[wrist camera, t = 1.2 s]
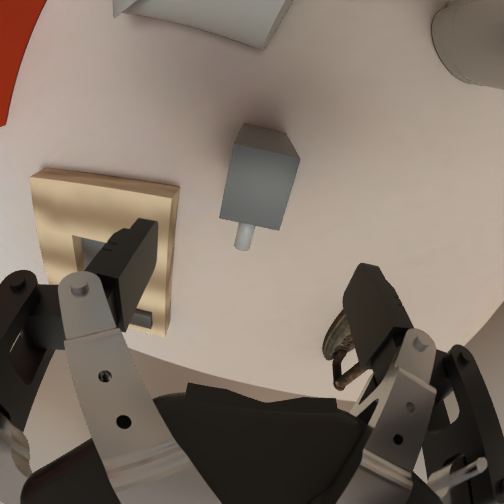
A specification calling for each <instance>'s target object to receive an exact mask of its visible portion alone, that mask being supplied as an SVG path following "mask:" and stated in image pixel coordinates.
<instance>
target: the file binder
mask: <svg viewBox="0 0 504 504" xmlns="http://www.w3.org/2000/svg"><path fill="white" fill-rule="evenodd" d="M45 2H46V0H0V127H1V126H4V125H5V124H6V120H7V115H8V110H9V105H10V101H11V96H12V92H13V88H14V84H15V81H16V77H17V73H18V70H19V67H20V64H21V60H22V57H23V55H24V52H25V49H26V46H27V43H28V41H29V38H30V36H31V33H32V31H33V28H34V26H35V23H36V21H37V19H38V17H39V14H40V12H41V10H42V8H43V6H44V4H45Z"/></svg>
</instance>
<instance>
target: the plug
mask: <svg viewBox="0 0 504 504" xmlns="http://www.w3.org/2000/svg"><path fill="white" fill-rule="evenodd" d="M299 162H300V157H299V156H298V154H297V152H296V150H295V148H294V147H293V145H292V143H291V141H290V140H289V138H288V136H287V134H286V133H282V132H278V131H274V130H270V129H265V128H261V127H256V126H252V125H247V124H243V126H242V128H241V130H240V132H239V134H238V136H237V138H236V141H235V143H234V146H233V151H232V155H231V160H230V165H229V170H228V175H227V180H226V185H225V190H224V195H223V200H222V206H221V211H220V216H219V218H221V219H226V220H231V221H236V222H239V226H238V230H237V235H236V239H235V244H234V246H235V248H236V249H238V250H241V251H247V250H249V248H250V245H251V241H252V237H253V233H254V229H255V226H260V227H264V228H269V229H274V230H278V231H279V229H280V226H281V223H282V219H283V216H284V213H285V209H286V206H287V203H288V199H289V196H290V193H291V189H292V186H293V183H294V179H295V176H296V172H297V169H298V166H299Z"/></svg>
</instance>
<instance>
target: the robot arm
mask: <svg viewBox="0 0 504 504" xmlns="http://www.w3.org/2000/svg"><path fill="white" fill-rule="evenodd" d="M432 37H433V42H434V45H435V48H436V51H437V53H438V55H439V57H440V59H441V60H442V62H443V63H444V65H445V66H446V68H447V69H448V70H449V71H450V72H451V73H452V74H453V75H454V76H455V77H457V78H458V79H460V80H461V81H463V82H466V83H469V84H475V85H480V86H488V87H493V88H498V89H503V90H504V0H453V1H449V2H447V7H446V8H445V9H442V10H440V11H439V12H438V13H437V14H436V15H435V17H434V19H433V23H432ZM157 250H158V221H155V220H149V219H144V218H138V219H137V220H136V221H135V223H134V224H133V225H132V226H131V228H130V229H127V228H123V229H121V230H119V231H117V232H115V233H114V234H113V235H112V236H111V237H110V238H109V240H108V241H107V243H105V244H104V246H103V247H102V250H101V249H100V251H99V252H98V253H97V254H96V256H95V257H94V258H93V260H92V261H91V262H90V264H89V265H88V266H87V267H86V269H85V270H84V271H78V272H74V273H71V274H69V275H67V276H66V277H64V278H63V279H62V280H61V282H60V283H59V285H41V284H38V282H37V278H36V276H35V274H34V273H33V272H31V271H28V270H19V271H15V272H13V273H11V274H10V275H8V276H7V277H6V278H5V279H4V280H3V281H2V283H1V284H0V501H1V502H3V503H5V504H504V436H503V433H502V430H501V426H500V423H499V420H498V418H497V414H496V411H495V408H494V406H493V403H492V400H491V397H490V395H489V393H488V390H487V387H486V385H485V382H484V380H483V377H482V375H481V373H480V370H479V368H478V366H477V364H476V361H475V359H474V357H473V356H472V354H471V353H470V351H469V350H468V349H466V348H465V347H464V346H462V345H454V346H453V347H452V348H451V349H450V350H449V351H448V353H446V352H443V351H440V350H437V349H436V346H435V343H434V341H433V340H432V338H431V337H430V336H429V335H428V334H427V333H425V332H424V331H422V330H420V329H417V328H414V327H413V325H412V323H411V321H410V319H409V316H408V314H407V312H406V310H405V308H404V306H402V303H401V301H400V299H398V298H399V297H398V295H397V293H396V291H395V289H394V288H393V287H392V286H391V284H390V283H389V282H388V281H387V280H386V279H385V277H384V275H383V274H382V272H381V270H380V268H379V267H378V266H375V265H370V264H366V263H360V264H359V265H358V266H357V268H356V270H355V272H354V274H353V276H352V278H351V280H350V282H349V284H348V286H347V288H346V290H345V292H344V296H343V308H344V311H345V314H346V318H347V321H348V325H349V328H350V331H351V335H352V338H353V342H354V345H355V349H356V353H357V356H358V360H359V364H360V368H361V369H373V372H374V373H373V374H372V375H371V376H370V377H369V379H368V381H367V383H366V385H365V386H364V388H363V390H362V392H361V394H360V396H359V398H358V399H357V401H356V403H355V405H354V407H353V408H352V410H351V411H350V413H348V412H346V411H343V410H340V409H337V403H336V398H310V397H302V398H295V399H290V400H284V401H277V402H270V403H264V402H261V401H258V400H255V399H252V398H248V397H246V396H243V395H241V394H237V393H235V392H232V391H230V390H227V389H221V388H215V387H209V386H204V385H198V384H193V383H188V385H187V390H186V392H185V393H172V394H167V395H163V396H159V397H156V398H153V399H152V398H151V396H150V394H149V392H148V390H147V388H146V386H145V384H144V382H143V380H142V378H141V376H140V374H139V372H138V369H137V367H136V365H135V363H134V361H133V358H132V356H131V354H130V352H129V349H128V347H127V344H126V342H125V339H124V337H123V335H122V332H126V330H127V328H128V326H129V323H130V321H131V319H132V317H133V314H134V312H135V310H136V308H137V306H138V303H139V301H140V299H141V297H142V295H143V293H144V291H145V288H146V286H147V284H148V282H149V280H150V278H151V276H152V274H153V272H154V269H155V266H156V262H157ZM121 331H122V332H121ZM19 333H20V335H19V337H18V339H17V341H16V343H15V345H14V347H13V348H12V350H11V347H12V345H13V343H14V342H15V340H16V338H17V336H18V334H19ZM55 349H58V350H59V349H60V350H65V351H66V355H67V360H68V364H69V368H70V372H71V376H72V380H73V383H74V387H75V390H76V393H77V397H78V400H79V403H80V406H81V409H82V412H83V415H84V418H85V421H86V423H87V426H88V429H89V431H90V434H91V436H92V438H90V439H89V440H87V441H86V442H84V443H83V444H81V445H79V446H78V447H76V448H74V449H73V450H71V451H70V452H68V453H66V454H65V455H63V456H61V457H59V458H58V459H56V460H54V461H53V462H51V463H49V464H47V465H46V466H44V467H42V468H40V469H39V470H37V471H35V472H34V473H32V471H31V468H30V465H29V460H30V454H29V452H30V450H29V444H28V440H27V438H26V437H25V435H24V434H23V431H24V428H25V425H26V422H27V419H28V416H29V413H30V410H31V407H32V404H33V402H34V399H35V396H36V394H37V391H38V388H39V386H40V384H41V381H42V379H43V376H44V374H45V372H46V369H47V367H48V365H49V362H50V360H51V358H52V356H53V354H54V351H55ZM10 350H11V352H10ZM452 391H454V393H455V396H456V399H457V402H458V405H459V410H460V412H459V416H458V418H457V419H456V420H455V421H454V422H453V423H452V424H450V421H449V418H448V414H447V410H446V407H445V404H444V401H443V399H444V398H446V397H447V396H448V395H449V394H450V393H451V392H452ZM421 447H422V449H423V455H424V459H425V466H426V472H427V478H428V483H427V484H426V483H425V482H423V481H422V480H421V479H420V478H419V477H418V476H417V475H416V474H415V473H414V472H413V469H414V466H415V464H416V461H417V458H418V455H419V452H420V450H421Z"/></svg>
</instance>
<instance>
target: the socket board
mask: <svg viewBox="0 0 504 504" xmlns="http://www.w3.org/2000/svg"><path fill="white" fill-rule="evenodd" d="M30 184H31V193H32V202H33V209H34V216H35V222H36V228H37V234H38V239H39V244H40V249H41V253H42V258H43V262H44V266H45V270H46V274H47V278H48V281H49V285H59V283H60V282H61V280H62V279H63V278H64V277H66V276H67V275H69V274H71V273H74V272H78V271H84V270H85V269H86V267H87V266H88V265H89V264H90V262H91V261H92V260H93V258H94V257H95V256H96V254H97V253H98V252H99V251H100V249H101V250H102V247H103V246H104V244H105V243H107V241H108V240H109V238H110V237H111V236H112V235H113V234H114V233H115V232H117V231H119V230H121V229H123V228H127V229H130V228H131V226H132V225H133V224H134V223H135V221H136V220H137V219H138V218H144V219H149V220H155V221H158V250H157V262H156V266H155V269H154V272H153V274H152V276H151V278H150V280H149V282H148V284H147V286H146V288H145V291H144V293H143V295H142V297H141V299H140V301H139V303H138V306H137V308H136V310H135V312H134V314H133V317H132V319H131V321H130V323H129V326H128V328H130V329H134V330H138V331H141V332H145V333H149V334H153V335H158V336H162V337H165V336H166V333H167V329H168V326H169V323H170V305H171V282H172V266H173V251H174V239H175V227H176V217H177V207H178V198H179V190H180V187H175V186H170V185H164V184H158V183H152V182H146V181H139V180H133V179H126V178H119V177H113V176H105V175H98V174H91V173H83V172H75V171H66V170H57V169H48V168H44V169H43V170H41V171H39V172H37V173H36V174H34V175H32V176H31V177H30Z"/></svg>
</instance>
